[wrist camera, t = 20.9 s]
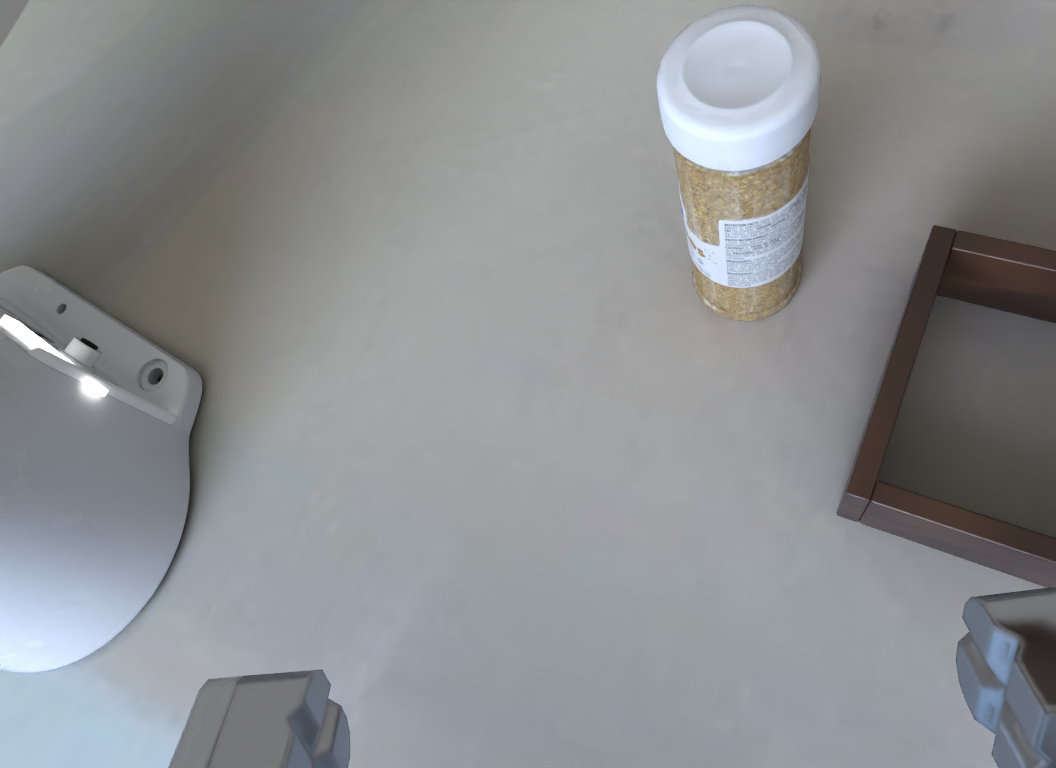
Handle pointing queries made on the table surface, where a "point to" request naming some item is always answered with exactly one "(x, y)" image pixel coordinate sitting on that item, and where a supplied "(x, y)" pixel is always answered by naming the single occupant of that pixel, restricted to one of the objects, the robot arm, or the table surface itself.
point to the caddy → (947, 270)
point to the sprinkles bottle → (742, 152)
